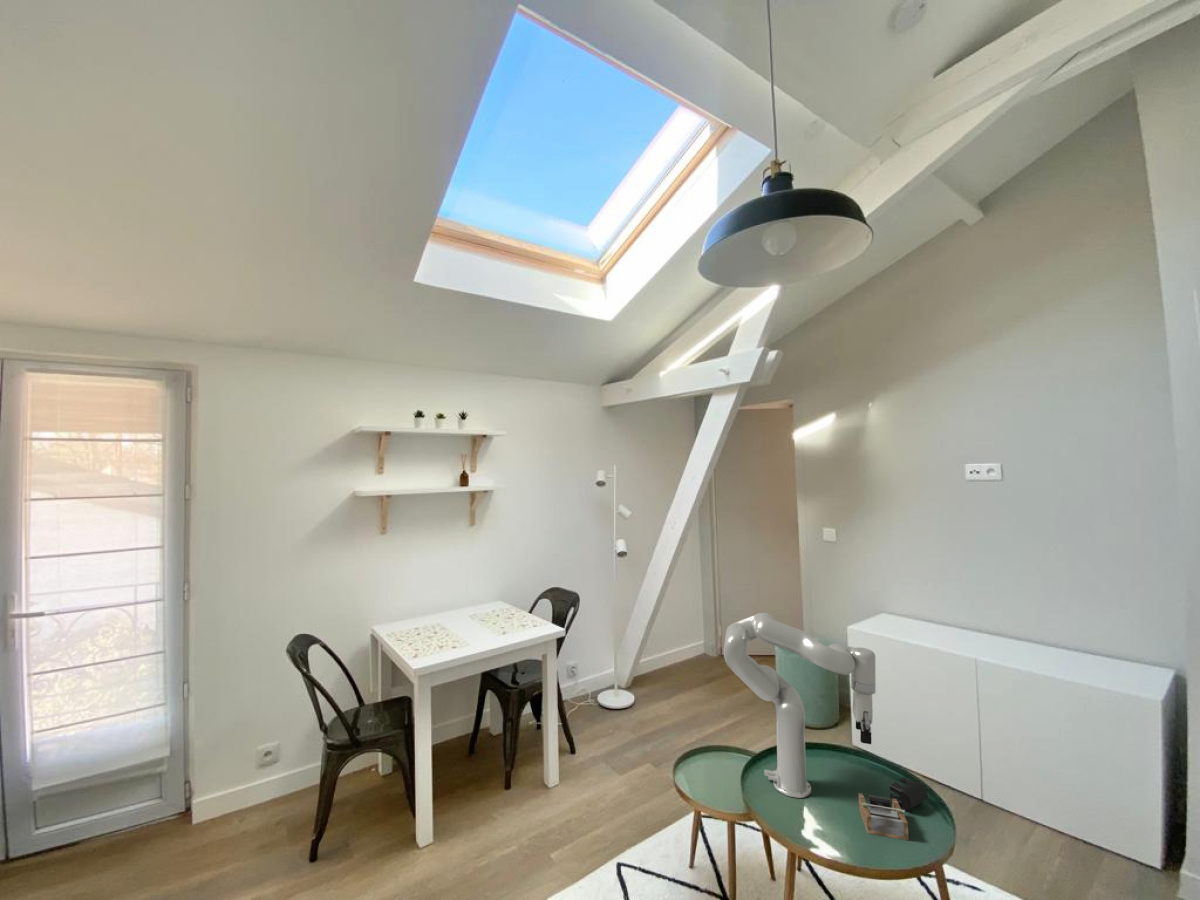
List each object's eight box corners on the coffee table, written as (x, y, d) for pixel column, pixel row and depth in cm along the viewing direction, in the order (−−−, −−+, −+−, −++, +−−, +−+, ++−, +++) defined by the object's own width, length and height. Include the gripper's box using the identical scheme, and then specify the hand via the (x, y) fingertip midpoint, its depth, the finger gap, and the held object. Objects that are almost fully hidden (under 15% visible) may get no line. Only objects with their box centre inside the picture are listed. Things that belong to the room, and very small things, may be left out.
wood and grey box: (867, 833, 152) (866, 815, 152) (859, 808, 164) (858, 792, 164) (908, 840, 149) (907, 822, 149) (896, 815, 160) (896, 798, 161)
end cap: (911, 816, 160) (910, 794, 160) (889, 803, 166) (888, 783, 167) (928, 806, 165) (927, 785, 165) (906, 794, 171) (905, 774, 172)
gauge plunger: (863, 821, 155) (863, 804, 156) (859, 809, 161) (858, 793, 161) (906, 829, 152) (906, 811, 152) (900, 816, 158) (900, 799, 158)
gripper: (847, 674, 181) (847, 722, 180) (855, 693, 164) (855, 746, 163) (870, 678, 178) (870, 726, 177) (880, 697, 162) (880, 751, 161)
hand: (863, 736), depth 170 cm, fingers open, 9 cm apart
